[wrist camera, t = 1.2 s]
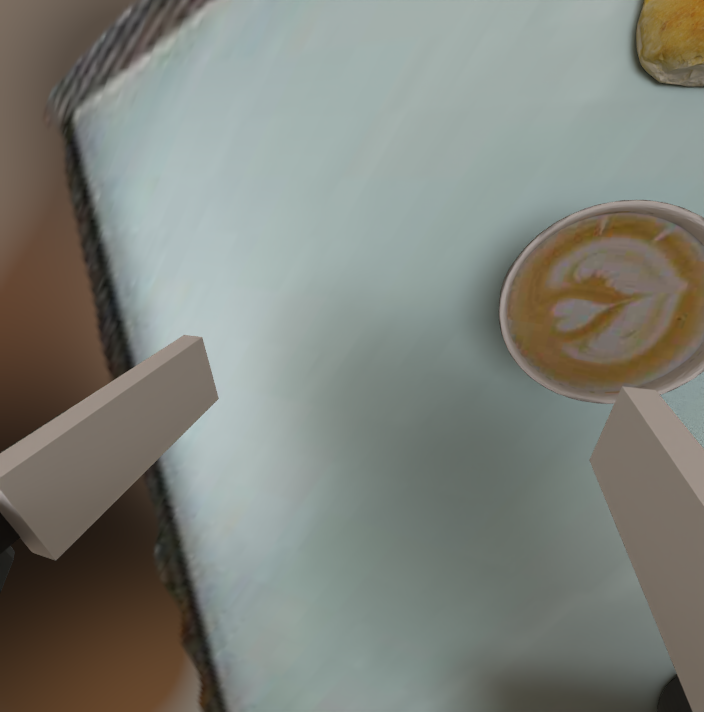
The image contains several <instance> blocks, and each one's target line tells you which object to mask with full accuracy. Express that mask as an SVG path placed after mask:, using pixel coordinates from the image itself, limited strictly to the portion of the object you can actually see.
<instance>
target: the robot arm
mask: <svg viewBox="0 0 704 712" xmlns="http://www.w3.org/2000/svg"><path fill="white" fill-rule="evenodd" d="M218 399H219V398H218V394H217V391H216V387H215V383H214V380H213V376H212V372H211V368H210V365H209V361H208V357H207V353H206V350H205V346H204V342H203V339H202V337H197V336H188V335H184V336H182V337H180V338H179V339H177V340H176V341H174V342H173V343H171V344H170V345H168V346H166V347H165V348H163V349H162V350H160V351H159V352H157V353H156V354H154V355H152V356H151V357H149V358H148V359H146V360H145V361H143V362H142V363H140V364H138V365H137V366H135V367H134V368H132V369H131V370H129V371H128V372H126V373H124V374H123V375H121V376H120V377H118V378H117V379H115V380H114V381H112V382H111V383H109V384H107V385H106V386H104V387H103V388H101V389H100V390H98V391H97V392H95V393H93V394H92V395H90V396H89V397H87V398H86V399H84V400H83V401H81V402H80V403H78V404H76V405H75V406H73V407H72V408H70V409H69V410H66V411H64V412H63V413H61V414H59V415H58V416H56V417H55V418H53V419H52V420H50V421H48V422H47V423H45V425H44V426H41V427H39V428H37V429H36V430H34V431H33V432H31V433H30V435H29V436H27V437H26V436H25V437H24V438H22V439H20V440H19V441H17V442H16V443H14V444H13V445H11V446H9V447H8V448H6V449H5V450H3V451H2V452H0V592H1V589H2V587H3V584H4V582H5V579H6V577H7V574H8V572H9V569H10V567H11V564H12V562H13V559H14V550H13V549H12V548H11V547H10V546H11V545H12V544H13V543H14V542H15V541H16V540H18V539H19V538H21V539H22V540H23V542H24V543H25V544H26V545H27V547H28V548H29V549H30V550H31V551H32V552H33V553H35V554H38V555H42V556H44V557H47V558H50V559H53V560H57V559H58V558H59V557H60V555H62V554H63V553H64V552H65V551H66V550H67V549H68V548H69V547H70V546H71V545H72V544H73V543H74V542H75V541H76V540H77V539H78V538H79V537H80V536H81V535H82V534H83V533H84V532H85V531H86V530H87V529H88V528H89V527H90V526H91V525H92V524H93V523H94V522H95V521H96V520H97V519H98V518H99V517H100V516H101V515H102V514H103V513H104V512H105V511H106V510H107V509H108V508H109V507H110V506H111V505H112V504H113V503H114V502H115V501H116V500H117V499H118V498H119V497H120V496H121V495H122V494H123V493H124V492H125V491H126V490H127V489H128V488H129V487H130V486H131V485H132V484H133V483H134V482H135V481H136V480H137V479H138V478H139V477H140V476H141V475H142V474H143V473H144V472H145V471H146V470H147V469H148V468H149V467H150V466H151V465H152V464H153V463H154V462H155V461H156V460H157V459H158V458H159V457H160V456H161V455H162V454H163V453H164V452H165V451H166V450H168V449H169V448H170V447H171V446H172V445H173V444H174V443H175V442H176V441H177V440H178V439H179V438H180V437H181V436H182V435H183V434H184V433H185V432H186V431H187V430H188V429H189V428H190V427H191V426H192V425H193V424H194V423H195V422H196V421H197V420H198V419H199V418H200V417H201V416H202V415H203V414H204V413H205V412H206V411H207V410H208V409H209V408H210V407H211V406H212V405H213V404H214V403H215V402H216V401H217V400H218ZM590 463H591V465H592V468H593V470H594V473H595V475H596V477H597V480H598V482H599V485H600V487H601V490H602V492H603V495H604V497H605V499H606V502H607V504H608V507H609V509H610V512H611V514H612V517H613V519H614V521H615V524H616V526H617V529H618V531H619V534H620V536H621V538H622V541H623V543H624V546H625V548H626V551H627V553H628V556H629V558H630V560H631V563H632V565H633V568H634V570H635V573H636V575H637V577H638V580H639V582H640V585H641V587H642V590H643V592H644V595H645V597H646V599H647V602H648V604H649V607H650V609H651V612H652V614H653V616H654V619H655V621H656V624H657V626H658V629H659V631H660V634H661V636H662V638H663V641H664V643H665V646H666V648H667V651H668V653H669V656H670V658H671V660H672V663H673V665H674V668H675V670H676V673H677V675H678V676H677V677H676V678H675V679H674V680H672V681H671V682H670V683H669V684H668V685H667V687H666V688H665V689H664V691H663V693H662V695H661V697H660V700H659V703H658V711H657V712H704V449H703V448H702V446H701V445H700V444H699V443H698V441H697V440H696V439H695V438H694V437H693V435H692V434H691V433H690V432H689V430H688V429H687V428H686V427H685V425H684V424H683V423H682V422H681V421H680V419H679V418H678V417H677V416H676V414H675V413H674V412H673V411H672V410H671V408H670V407H669V406H668V405H667V403H666V402H665V401H664V400H663V398H662V397H661V396H660V395H659V394H658V392H657V391H656V390H649V389H641V388H632V387H624V386H622V388H621V390H620V392H619V394H618V397H617V399H616V401H615V403H614V406H613V408H612V410H611V413H610V415H609V417H608V419H607V422H606V424H605V426H604V428H603V431H602V433H601V435H600V437H599V440H598V442H597V444H596V447H595V449H594V451H593V453H592V456H591V458H590Z"/></svg>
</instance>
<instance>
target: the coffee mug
mask: <svg viewBox="0 0 704 712" xmlns="http://www.w3.org/2000/svg"><path fill="white" fill-rule="evenodd" d="M499 322H500V328H501V333H502V336H503V338H504V341H505V344H506V346H507V348H508V350H509V352H510V354H511V356H512V357H513V358H514V360H515V361H516V363H517V364H518V365H519V366H520V367H521V368H522V370H523V371H524V372H525V373H526V374H527V375H529V376H530V377H531V378H532V379H533V380H535V381H536V382H538V383H539V384H541V385H542V386H544V387H545V388H547V389H549V390H551V391H553V392H555V393H557V394H560V395H563V396H566V397H569V398H572V399H576V400H580V401H585V402H593V403H603V404H611V403H615V401H616V399H617V397H618V394H619V392H620V390H621V388H622V386H624V387H632V388H641V389H649V390H656V391H657V392H658V394H659V395H661V394H664V393H667V392H669V391H672V390H674V389H676V388H678V387H680V386H681V385H683V384H685V383H687V382H689V381H690V380H692V379H694V378H696V377H697V376H698V375H699V374H701V373H702V372H703V371H704V218H703V217H702V216H700V215H698V214H695V213H693V212H691V211H689V210H687V209H685V208H682V207H679V206H675V205H672V204H668V203H663V202H656V201H649V200H622V201H616V202H610V203H604V204H599V205H595V206H592V207H589V208H585V209H583V210H580V211H578V212H576V213H573V214H571V215H569V216H567V217H565V218H563V219H561V220H559V221H557V222H556V223H554V224H553V225H551V226H550V227H548V228H547V229H546V230H544V231H543V232H541V233H540V234H539V235H538V236H537V237H536V238H534V239H533V240H532V241H531V242H530V243H529V244H528V245H527V246H526V247H525V249H524V250H523V251H522V252H521V253H520V255H519V256H518V257H517V259H516V260H515V261H514V263H513V264H512V266H511V267H510V269H509V271H508V272H507V274H506V277H505V279H504V282H503V285H502V289H501V294H500V302H499Z"/></svg>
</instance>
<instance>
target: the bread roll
mask: <svg viewBox="0 0 704 712" xmlns="http://www.w3.org/2000/svg"><path fill="white" fill-rule="evenodd" d="M636 44H637V53H638V56H639V60H640V63H641V65H642V67H643V68H644V69H645V70H646V71H647V72H648V73H649V74H650V75H651V76H652V77H654V78H655V79H656V80H657V81H659V82H660V83H667V84H678V85H683V86H704V0H644V3H643V8H642V10H641V14H640V18H639V21H638V24H637V30H636Z"/></svg>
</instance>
